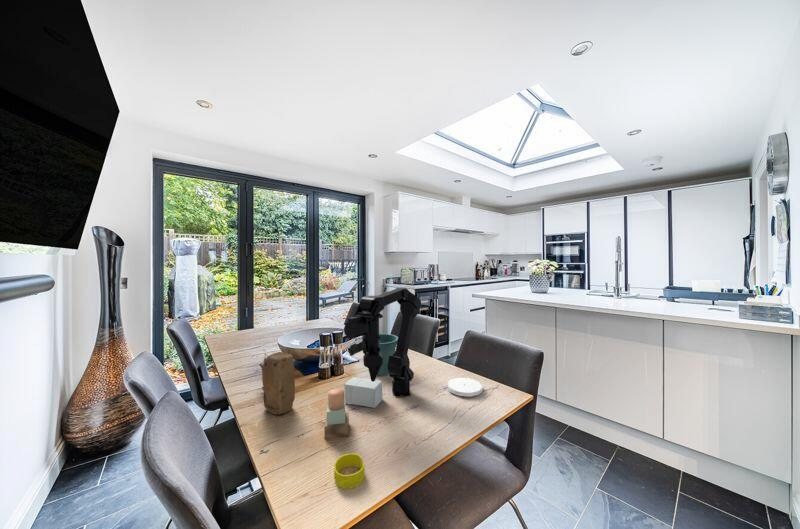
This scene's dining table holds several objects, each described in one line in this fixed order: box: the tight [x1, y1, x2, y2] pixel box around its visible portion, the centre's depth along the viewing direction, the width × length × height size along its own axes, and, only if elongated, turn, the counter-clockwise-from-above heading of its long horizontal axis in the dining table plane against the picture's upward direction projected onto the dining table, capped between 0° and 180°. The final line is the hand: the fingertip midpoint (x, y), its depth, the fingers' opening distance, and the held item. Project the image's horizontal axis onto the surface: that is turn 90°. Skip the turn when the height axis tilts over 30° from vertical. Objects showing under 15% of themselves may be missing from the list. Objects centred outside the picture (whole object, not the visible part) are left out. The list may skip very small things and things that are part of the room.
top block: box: [326, 401, 346, 425], centre depth 91 cm, size 6×6×4 cm
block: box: [261, 351, 296, 416], centre depth 104 cm, size 11×8×20 cm
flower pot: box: [377, 333, 398, 377], centre depth 139 cm, size 16×16×16 cm
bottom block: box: [323, 411, 350, 440], centre depth 91 cm, size 7×7×4 cm
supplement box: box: [343, 376, 383, 409], centre depth 110 cm, size 7×7×13 cm
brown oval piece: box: [327, 388, 345, 410], centre depth 91 cm, size 5×5×4 cm
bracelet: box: [333, 452, 366, 489], centre depth 72 cm, size 7×8×3 cm
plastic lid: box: [446, 377, 483, 397], centre depth 119 cm, size 14×14×2 cm
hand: (372, 375), depth 102 cm, fingers open, 9 cm apart
